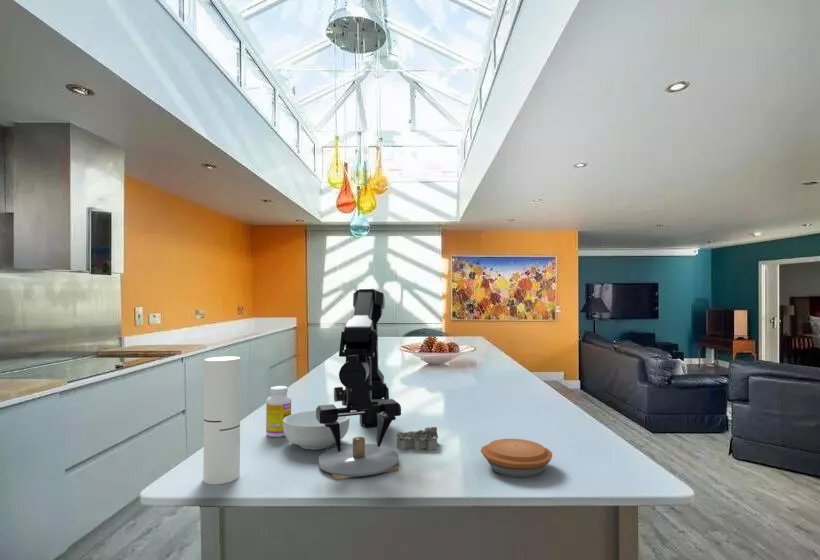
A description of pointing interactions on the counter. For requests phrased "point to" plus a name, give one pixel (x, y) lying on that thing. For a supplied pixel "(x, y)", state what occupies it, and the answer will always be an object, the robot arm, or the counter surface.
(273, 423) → the supplement bottle
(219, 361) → the cylindrical container
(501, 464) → the pie
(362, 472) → the lid
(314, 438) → the cereal bowl
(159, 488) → the counter surface
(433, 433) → the egg carton
